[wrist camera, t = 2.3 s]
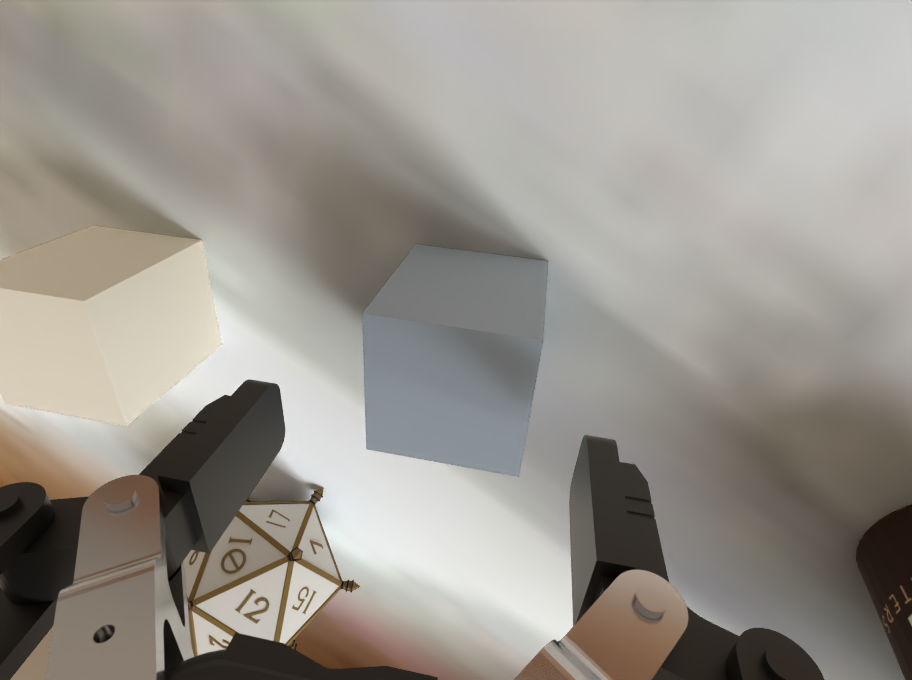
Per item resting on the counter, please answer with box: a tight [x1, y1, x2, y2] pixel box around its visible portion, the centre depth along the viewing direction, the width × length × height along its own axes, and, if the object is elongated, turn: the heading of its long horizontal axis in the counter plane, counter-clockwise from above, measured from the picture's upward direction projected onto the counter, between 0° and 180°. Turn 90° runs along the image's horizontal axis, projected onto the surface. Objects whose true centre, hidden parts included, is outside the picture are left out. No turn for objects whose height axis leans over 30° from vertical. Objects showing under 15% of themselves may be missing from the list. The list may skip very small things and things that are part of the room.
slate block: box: [362, 244, 548, 477], centre depth 17 cm, size 5×5×6 cm
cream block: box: [0, 226, 222, 426], centre depth 20 cm, size 5×5×6 cm
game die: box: [183, 488, 360, 657], centre depth 25 cm, size 9×8×10 cm
